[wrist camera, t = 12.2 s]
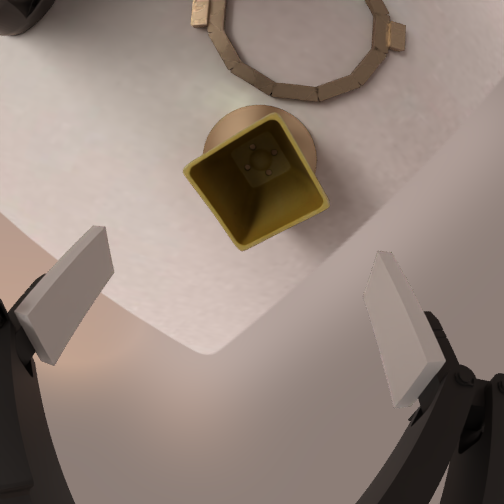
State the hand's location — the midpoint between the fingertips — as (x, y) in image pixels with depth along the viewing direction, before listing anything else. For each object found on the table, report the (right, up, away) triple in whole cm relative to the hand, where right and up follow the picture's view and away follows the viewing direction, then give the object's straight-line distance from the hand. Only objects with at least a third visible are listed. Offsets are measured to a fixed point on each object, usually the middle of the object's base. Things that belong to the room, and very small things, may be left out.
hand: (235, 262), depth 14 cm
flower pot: (+2, +10, +17) cm, 20 cm away
